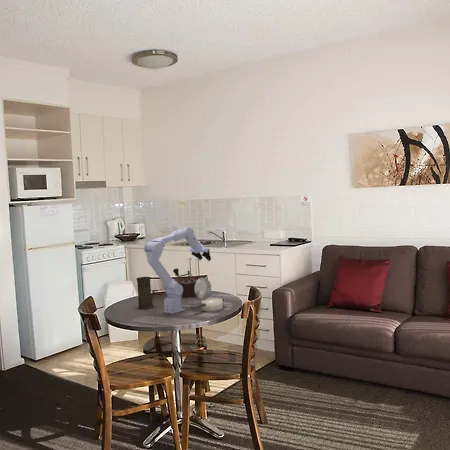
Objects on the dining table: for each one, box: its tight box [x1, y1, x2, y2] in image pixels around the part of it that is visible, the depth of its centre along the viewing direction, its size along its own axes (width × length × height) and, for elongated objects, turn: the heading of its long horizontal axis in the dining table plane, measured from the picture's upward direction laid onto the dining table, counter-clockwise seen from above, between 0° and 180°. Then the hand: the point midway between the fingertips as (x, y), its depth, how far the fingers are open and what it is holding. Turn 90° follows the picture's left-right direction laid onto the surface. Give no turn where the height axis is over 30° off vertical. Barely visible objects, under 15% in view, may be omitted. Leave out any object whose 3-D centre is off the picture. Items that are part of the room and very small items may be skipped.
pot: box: [190, 297, 225, 313], centre depth 278 cm, size 23×12×5 cm, turn 135°
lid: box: [194, 277, 212, 300], centre depth 285 cm, size 12×12×2 cm
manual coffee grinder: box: [172, 267, 198, 299], centre depth 319 cm, size 16×11×18 cm
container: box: [135, 276, 154, 310], centre depth 294 cm, size 9×9×18 cm
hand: (205, 259), depth 298 cm, fingers open, 7 cm apart
